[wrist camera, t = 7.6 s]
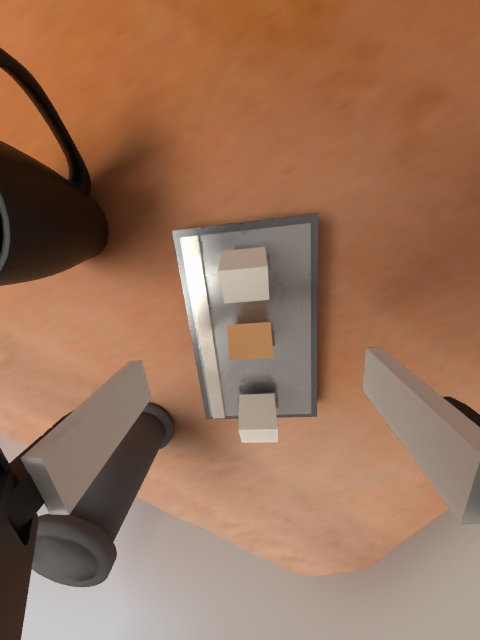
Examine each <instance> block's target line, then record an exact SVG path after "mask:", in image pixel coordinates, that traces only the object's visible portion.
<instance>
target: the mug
mask: <svg viewBox="0 0 480 640" xmlns="http://www.w3.org/2000/svg"><path fill="white" fill-rule="evenodd" d="M0 68H2V69H3V70H4V71H5V72H7V73H8V74H9V75H10V76H11V77H12V78H13V79H14V80H15V81H16V82H17V83H18V84H19V86H20V87H21V88H22V89H23V90H24V92H25V93H26V94H27V95H28V97H29V98H30V99H31V101H32V102H33V103H34V105H35V106H36V108H37V109H38V111H39V112H40V114H41V115H42V116H43V118H44V120H45V121H46V123H47V124H48V126H49V127H50V129H51V131H52V132H53V134H54V136H55V137H56V139H57V141H58V143H59V144H60V146H61V148H62V150H63V152H64V154H65V157H66V159H67V162H68V166H69V178H68V180H67V179H65V178H64V177H63V176H61V175H60V174H58V173H57V172H55V171H54V170H52V169H51V168H49V167H47V166H46V165H44V164H42V163H41V162H39V161H37V160H36V159H34V158H32V157H30V156H28V155H27V154H25V153H23V152H21V151H19V150H17V149H15V148H14V147H12V146H10V145H8V144H6V143H4V142H2V141H0V286H3V285H9V284H16V283H22V282H27V281H32V280H37V279H41V278H45V277H48V276H52V275H55V274H57V273H60V272H63V271H65V270H67V269H70V268H72V267H74V266H76V265H78V264H80V263H82V262H83V261H85V260H87V259H89V258H91V257H93V256H95V255H97V254H99V253H100V252H101V251H102V250H103V248H104V247H105V245H106V242H107V239H108V224H107V220H106V217H105V215H104V213H103V211H102V209H101V208H100V207H99V205H98V204H97V203H96V202H95V201H94V200H93V199H92V198H91V197H90V196H89V193H90V190H91V180H90V176H89V173H88V170H87V168H86V165H85V163H84V161H83V159H82V157H81V155H80V153H79V151H78V149H77V148H76V146H75V144H74V142H73V140H72V138H71V137H70V135H69V133H68V131H67V129H66V127H65V126H64V124H63V122H62V120H61V118H60V117H59V115H58V113H57V111H56V110H55V108H54V106H53V105H52V103H51V101H50V100H49V98H48V97H47V95H46V94H45V92H44V90H43V89H42V87H41V86H40V85H39V83H38V82H37V80H36V79H35V78H34V77H33V76H32V74H31V73H30V72H29V71H28V70H27V69H26V68H25V67H24V66H23V65H22V64H20V63H19V62H18V61H17V60H16V59H14V58H13V57H12V56H10V55H9V54H8V53H7V52H5V51H4V50H3V49H1V48H0Z"/></svg>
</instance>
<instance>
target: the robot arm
mask: <svg viewBox="0 0 480 640" xmlns="http://www.w3.org/2000/svg"><path fill="white" fill-rule="evenodd" d="M363 392H364V393H365V394H366V396H367V397H368V398H369V400H370V401H371V402H372V404H373V405H374V407H375V408H376V409H377V411H378V412H379V413H380V415H381V416H382V417H383V419H384V420H385V422H386V423H387V424H388V426H389V427H390V428H391V430H392V431H393V432H394V434H395V435H396V437H397V438H398V439H399V441H400V442H401V443H402V445H403V446H404V447H405V449H406V450H407V451H408V453H409V454H410V456H411V457H412V458H413V460H414V461H415V462H416V464H417V465H418V466H419V468H420V469H421V471H422V472H423V473H424V475H425V476H426V477H427V479H428V480H429V481H430V483H431V484H432V486H433V487H434V488H435V490H436V491H437V492H438V494H439V495H440V496H441V498H442V499H443V501H444V502H445V503H446V505H447V506H448V507H449V509H450V510H451V511H452V513H453V514H454V515H455V517H456V518H457V520H458V521H459V522H460V524H480V415H479V414H478V413H477V412H475V411H474V410H473V409H471V408H470V407H469V406H467V405H466V404H464V403H462V402H460V401H458V400H456V399H454V398H452V397H442V396H440V395H439V394H438V393H437V392H435V391H434V390H433V389H432V388H431V387H429V386H428V385H427V384H426V383H424V382H423V381H422V380H421V379H419V378H418V377H417V376H416V375H414V374H413V373H412V372H411V371H410V370H408V369H407V368H406V367H405V366H403V365H402V364H401V363H400V362H398V361H397V360H396V359H395V358H393V357H392V356H391V355H390V354H389V353H387V352H386V351H385V350H384V349H382V348H381V347H376V348H366V356H365V368H364V381H363ZM150 400H151V394H150V390H149V386H148V382H147V379H146V375H145V371H144V367H143V363H142V360H141V361H130V362H128V363H127V364H126V365H125V366H124V367H123V368H122V369H121V370H119V371H118V372H117V373H116V374H115V375H114V376H113V377H111V378H110V379H109V380H108V381H107V382H106V383H105V384H104V385H102V386H101V387H100V388H99V389H98V390H97V391H96V392H95V393H93V394H92V395H91V396H90V397H89V398H88V399H87V400H86V401H84V402H83V403H82V404H81V405H80V406H79V407H78V408H76V409H75V410H74V411H72V412H70V413H69V414H67V415H66V416H64V417H62V418H61V419H60V420H59V421H58V422H57V423H56V424H54V425H53V426H52V428H50V429H49V430H47V431H46V432H45V433H44V435H43V436H41V437H39V438H38V439H37V440H36V441H35V442H34V443H32V444H31V445H30V446H29V447H28V448H27V449H26V450H24V451H23V452H22V453H21V454H20V455H19V456H17V457H16V458H15V459H14V460H13V461H12V462H11V463H8V461H7V459H6V457H5V456H4V454H3V452H2V450H1V448H0V640H21V634H22V627H23V621H24V615H25V607H26V602H27V595H28V587H29V582H30V575H31V569H32V562H33V556H34V549H35V543H36V536H37V530H38V523H39V519H38V515H37V513H36V512H37V511H38V510H39V509H40V508H41V506H42V505H43V504H45V506H46V507H47V509H48V511H49V513H50V514H52V515H69V514H70V513H71V511H72V510H73V509H74V507H75V506H76V504H77V503H78V501H79V500H80V499H81V497H82V496H83V494H84V493H85V492H86V490H87V489H88V487H89V486H90V485H91V483H92V482H93V480H94V479H95V477H96V476H97V475H98V473H99V472H100V470H101V469H102V468H103V466H104V465H105V463H106V462H107V461H108V459H109V458H110V456H111V455H112V453H113V452H114V451H115V449H116V448H117V446H118V445H119V444H120V442H121V441H122V439H123V438H124V436H125V435H126V434H127V432H128V431H129V429H130V428H131V427H132V425H133V424H134V422H135V421H136V420H137V418H138V417H139V415H140V414H141V412H142V411H143V410H144V408H145V407H146V405H147V404H148V403H149V401H150Z"/></svg>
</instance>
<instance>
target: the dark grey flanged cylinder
mask: <svg viewBox="0 0 480 640" xmlns="http://www.w3.org/2000/svg"><path fill="white" fill-rule="evenodd" d="M173 432H174V423H173V420H172V418H171V417H170V415H169V414H168V413H167V412H166V411H165V410H164V409H163V408H161V407H160V406H158V405H156V404H153V403H148V404H147V405H146V407H145V408H144V410H143V411H142V412H141V414H140V415H139V417H138V418H137V420H136V421H135V422H134V424H133V425H132V427H131V428H130V429H129V431H128V432H127V434H126V435H125V436H124V438H123V439H122V441H121V442H120V444H119V445H118V446H117V448H116V449H115V451H114V452H113V453H112V455H111V456H110V458H109V459H108V461H107V462H106V463H105V465H104V466H103V468H102V469H101V470H100V472H99V473H98V475H97V476H96V477H95V479H94V480H93V482H92V483H91V485H90V486H89V487H88V489H87V490H86V492H85V493H84V494H83V496H82V497H81V499H80V500H79V501H78V503H77V504H76V506H75V507H74V509H73V510H72V511H71V513H70V514H69V515H52V514H45V515H42V516H39V517H38V519H39V523H38V530H37V536H36V543H35V549H34V556H33V562H32V569H33V570H34V571H35V572H37V573H38V574H40V575H42V576H44V577H45V578H48V579H50V580H52V581H54V582H57V583H60V584H64V585H69V586H74V587H90V586H95V585H98V584H100V583H102V582H103V581H105V579H106V578H107V577H108V575H109V573H110V571H111V569H112V566H113V564H114V562H115V560H116V556H117V552H116V547H115V545H114V543H113V542H114V540H115V538H116V535H117V534H118V532H119V529H120V527H121V525H122V523H123V521H124V519H125V517H126V515H127V513H128V511H129V509H130V507H131V505H132V503H133V501H134V499H135V497H136V495H137V493H138V491H139V489H140V487H141V485H142V483H143V481H144V479H145V477H146V475H147V473H148V471H149V468H150V466H151V464H152V462H153V460H154V458H155V456H156V454H157V452H158V450H159V449H161V448H163V447H165V446H166V445H167V444H168V443H169V441H170V439H171V437H172V435H173Z"/></svg>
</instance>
